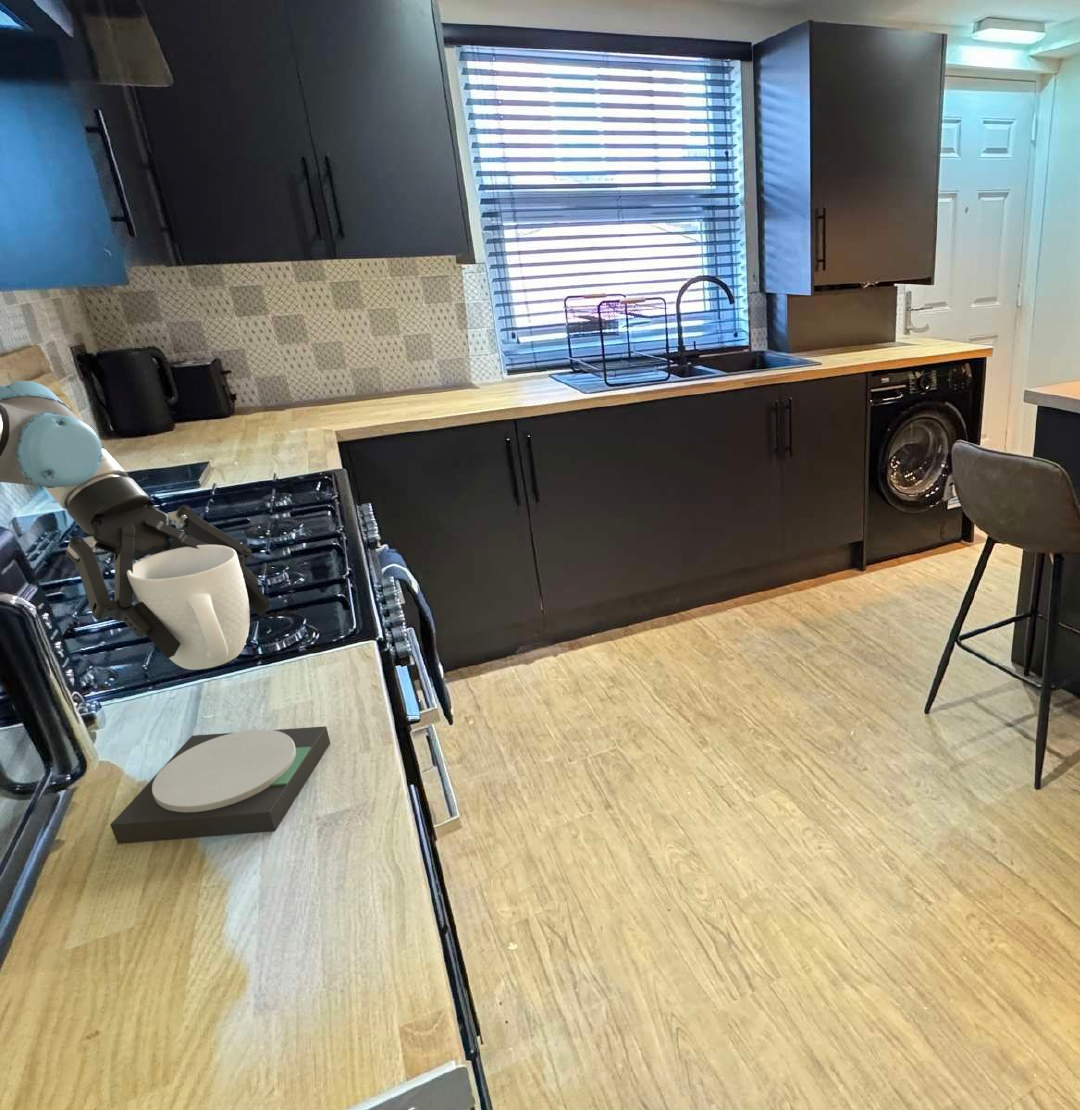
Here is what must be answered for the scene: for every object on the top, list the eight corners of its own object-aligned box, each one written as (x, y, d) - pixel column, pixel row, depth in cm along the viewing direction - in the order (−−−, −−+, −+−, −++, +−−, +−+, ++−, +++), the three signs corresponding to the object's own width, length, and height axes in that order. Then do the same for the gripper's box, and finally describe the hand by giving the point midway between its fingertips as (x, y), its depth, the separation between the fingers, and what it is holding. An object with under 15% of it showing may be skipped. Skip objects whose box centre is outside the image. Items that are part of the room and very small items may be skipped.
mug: (281, 669, 95) (255, 571, 90) (173, 704, 88) (139, 599, 83) (249, 627, 105) (225, 537, 100) (150, 655, 98) (119, 559, 93)
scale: (117, 843, 78) (107, 818, 76) (197, 752, 91) (190, 729, 90) (275, 831, 79) (267, 805, 78) (330, 743, 93) (324, 720, 92)
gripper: (-13, 503, 82) (129, 658, 82) (202, 451, 102) (314, 576, 103) (-24, 544, 86) (112, 692, 86) (185, 486, 106) (294, 606, 106)
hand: (222, 629), depth 94 cm, fingers closed on mug, 11 cm apart
